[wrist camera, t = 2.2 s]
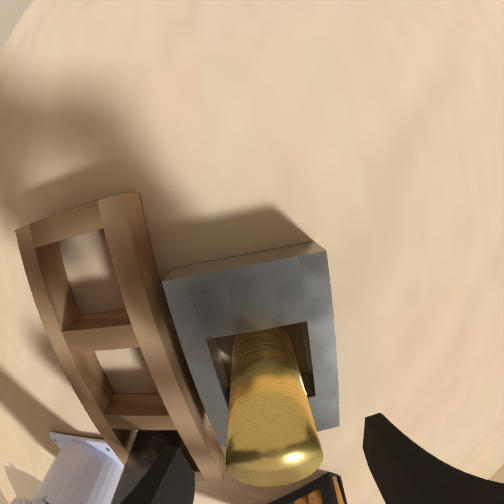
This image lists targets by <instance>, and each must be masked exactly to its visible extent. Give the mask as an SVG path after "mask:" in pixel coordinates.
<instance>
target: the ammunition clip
mask: <svg viewBox="0 0 504 504" xmlns="http://www.w3.org/2000/svg"><path fill="white" fill-rule="evenodd" d="M269 504H347V501H346V497H345V493H344V489H343V484H342V480H341V476H338V475H335V474H332V473H327V474H325V475H323V476H321V477H320V478H318V479H316V480H315V481H313V482H311V483H309V484H307V485H305V486H304V487H302V488H300V489H298V490H296V491H294V492H292V493H290V494H288V495H286V496H284V497H282V498H280V499H278V500H276V501H273V502H271V503H269Z"/></svg>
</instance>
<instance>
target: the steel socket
mask: <svg viewBox="0 0 504 504" xmlns="http://www.w3.org/2000/svg"><path fill="white" fill-rule="evenodd" d="M162 285H163V288H164V292H165V295H166V299H167V302H168V305H169V309H170V312H171V315H172V319H173V322H174V325H175V328H176V331H177V334H178V337H179V340H180V343H181V346H182V349H183V352H184V355H185V358H186V361H187V364H188V367H189V369H190V372H191V375H192V378H193V380H194V383H195V386H196V388H197V391H198V394H199V396H200V399H201V401H202V404H203V406H204V409H205V411H206V414H207V416H208V419H209V421H210V423H211V426H212V428H213V431H214V433H215V435H216V437H217V440H218V442H219V444H220V446H227V431H228V415H229V399H230V384H229V380H228V377H227V374H226V370H225V367H224V363H223V360H222V357H221V353H220V350H219V346H218V343H217V339H216V338H217V337H223V336H230V335H236V334H242V333H248V332H253V331H259V330H264V329H270V328H275V327H280V326H285V325H290V324H295V323H300V322H301V323H302V330H303V337H304V345H305V352H306V360H307V368H308V373H305V374H301V378H302V381H303V385H304V388H305V392H306V395H307V399H308V402H309V406H310V409H311V413H312V416H313V420H314V423H315V427H316V430H317V431H321V430H326V429H330V428H334V427H337V426H339V392H338V370H337V353H336V339H335V327H334V315H333V305H332V295H331V285H330V277H329V268H328V260H327V253H326V250H325V249H324V248H322V247H321V246H320V245H318V244H317V243H316V242H315V241H313V242H308V243H303V244H298V245H292V246H287V247H282V248H277V249H272V250H266V251H261V252H256V253H251V254H246V255H240V256H235V257H230V258H225V259H219V260H214V261H209V262H204V263H198V264H193V265H188V266H183V267H178V268H173V269H172V271H171V272H170V273H169V274H168V275H167V276H166V277H165V279H164V280H163V281H162Z"/></svg>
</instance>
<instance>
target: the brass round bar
mask: <svg viewBox="0 0 504 504" xmlns="http://www.w3.org/2000/svg"><path fill="white" fill-rule="evenodd" d="M322 460H323V452H322V448H321V445H320V441H319V438H318V434H317V430H316V427H315V423H314V420H313V416H312V413H311V409H310V406H309V402H308V399H307V395H306V392H305V388H304V385H303V381H302V378H301V374H300V371H299V367H298V364H297V361H296V357H295V354H294V350H293V347H292V343H291V340H290V338H289V336H288V334H287V333H286V332H285V331H284V330H283V329H282V328H281V327H275V328H270V329H264V330H259V331H253V332H248V333H242V334H238V335H237V336H236V338H235V340H234V344H233V354H232V369H231V384H230V399H229V415H228V431H227V448H226V469H227V471H228V472H229V474H230V475H231V476H232V477H234V478H235V479H237V480H238V481H241V482H243V483H246V484H249V485H254V486H261V487H275V486H283V485H288V484H292V483H295V482H298V481H300V480H302V479H304V478H306V477H308V476H310V475H311V474H312V473H314V472H315V471H316V470H317V469H318V468H319V466H320V465H321V463H322Z"/></svg>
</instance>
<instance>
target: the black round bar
mask: <svg viewBox="0 0 504 504" xmlns="http://www.w3.org/2000/svg"><path fill="white" fill-rule="evenodd" d="M183 444H184V442H183V440H182V438H181V436H180V434H179V433H178V431H177V430H138V432H137V435H136V437H135V440H134V442H133V445H132V447H131V450H130V453H129V455H128V458H127V460H126V463H125V466H124V468H123V471H122V474H121V476H120V479H119V482H118V484H117V487H116V490H115V493H114V495H113V498H112V501H111V504H120V503H121V502H122V501H123V500H124V499H125V497H126V496H127V495H128V494H129V493H130V492H131V491H132V490H133V488H134V487H135V486H136V485H137V484H138V482H139V481H140V480H141V478H142V477H143V476H144V475H145V473H146V472H147V471H148V469H149V468H150V466H151V465H152V464H153V462H154V461H155V459H156V458H157V456H158V455H159V454H160V452H161V451H162V449H163V448H164V447H179V448H180V450H181V452H182V448H183Z"/></svg>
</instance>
